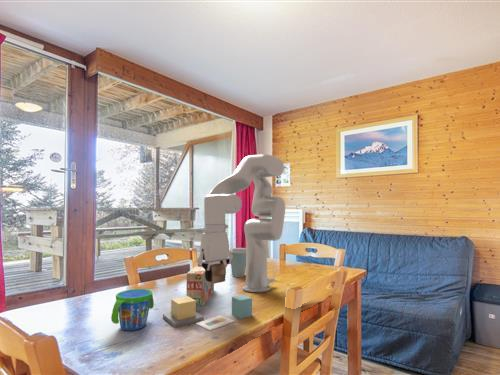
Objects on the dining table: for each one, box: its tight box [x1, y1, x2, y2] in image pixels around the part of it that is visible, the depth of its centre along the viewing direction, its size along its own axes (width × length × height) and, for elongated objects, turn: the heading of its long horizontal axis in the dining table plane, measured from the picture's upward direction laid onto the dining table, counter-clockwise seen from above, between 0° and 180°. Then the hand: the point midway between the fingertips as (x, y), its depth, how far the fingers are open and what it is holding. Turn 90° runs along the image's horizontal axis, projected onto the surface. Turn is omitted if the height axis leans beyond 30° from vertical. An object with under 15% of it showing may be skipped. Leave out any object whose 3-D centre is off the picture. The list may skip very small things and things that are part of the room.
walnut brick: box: [206, 261, 226, 285], centre depth 109 cm, size 5×5×6 cm
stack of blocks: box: [186, 266, 215, 307], centre depth 124 cm, size 21×6×12 cm, turn 175°
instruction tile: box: [195, 314, 235, 331], centre depth 97 cm, size 10×7×1 cm
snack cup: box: [110, 288, 155, 331], centre depth 94 cm, size 16×10×10 cm
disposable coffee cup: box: [229, 247, 246, 278], centre depth 163 cm, size 11×11×15 cm
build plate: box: [162, 295, 205, 328], centre depth 100 cm, size 10×10×6 cm
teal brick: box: [231, 294, 253, 319], centre depth 104 cm, size 5×5×6 cm
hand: (215, 278), depth 109 cm, fingers closed on walnut brick, 5 cm apart
